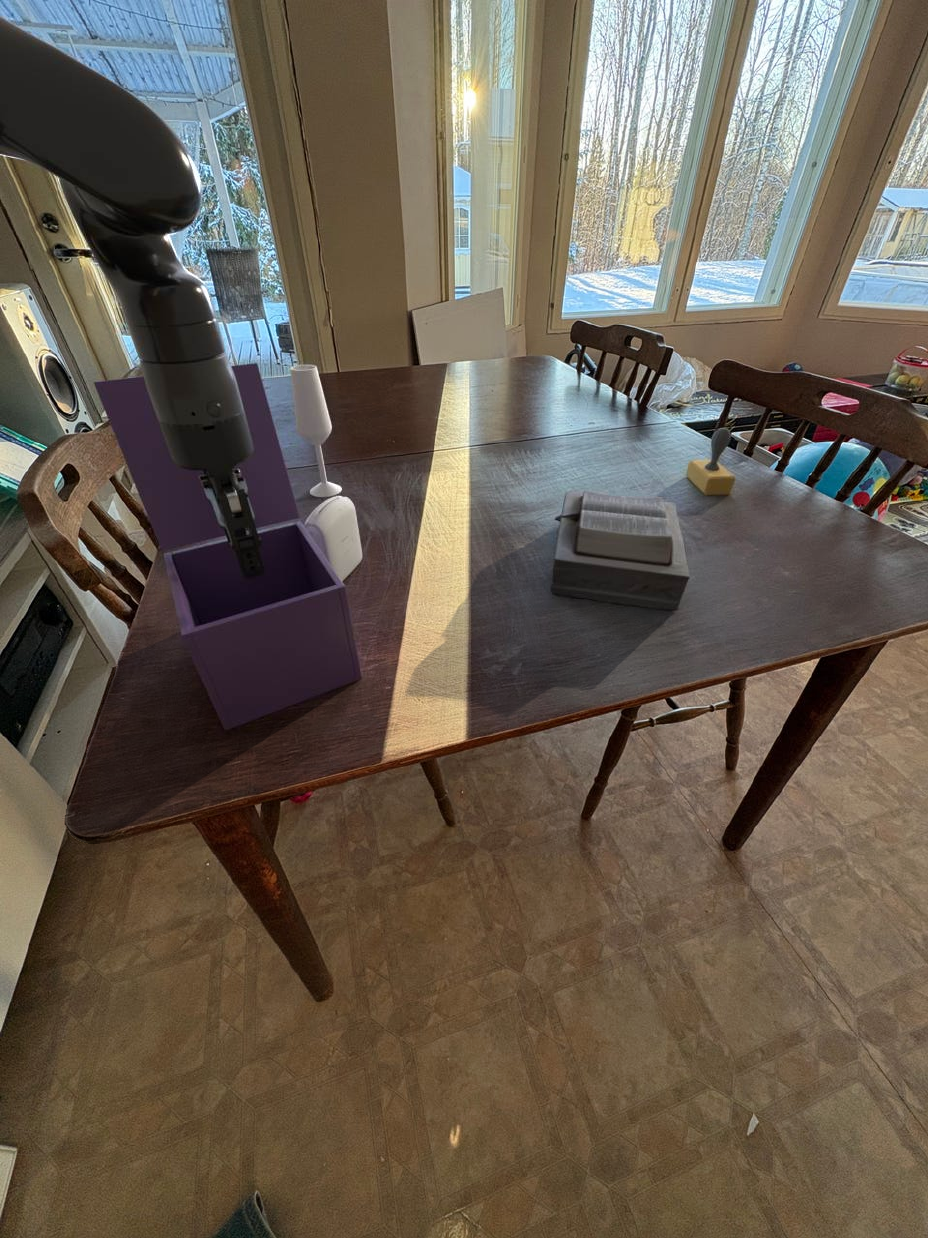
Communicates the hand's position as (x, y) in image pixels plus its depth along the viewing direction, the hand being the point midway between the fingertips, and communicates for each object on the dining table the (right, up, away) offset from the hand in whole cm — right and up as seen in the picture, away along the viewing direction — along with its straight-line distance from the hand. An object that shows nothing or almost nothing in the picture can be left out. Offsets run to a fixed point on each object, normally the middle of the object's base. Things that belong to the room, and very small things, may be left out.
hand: (246, 557), depth 58 cm
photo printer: (+4, 0, +26) cm, 27 cm away
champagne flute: (-5, +20, +51) cm, 55 cm away
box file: (0, -12, +10) cm, 16 cm away
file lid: (-5, +12, +2) cm, 13 cm away
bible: (+50, +3, +29) cm, 57 cm away
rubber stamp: (+77, +22, +53) cm, 96 cm away
